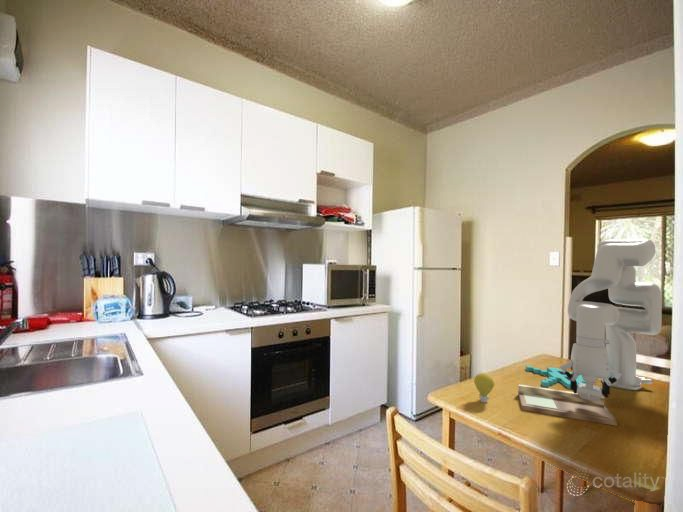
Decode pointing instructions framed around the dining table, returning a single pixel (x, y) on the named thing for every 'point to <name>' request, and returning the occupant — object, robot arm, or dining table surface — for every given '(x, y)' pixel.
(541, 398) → the end mark
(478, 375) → the light bulb
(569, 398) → the brown piece
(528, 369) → the teal pixel sprite
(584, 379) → the stamp
